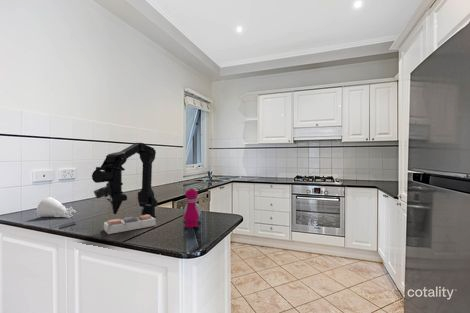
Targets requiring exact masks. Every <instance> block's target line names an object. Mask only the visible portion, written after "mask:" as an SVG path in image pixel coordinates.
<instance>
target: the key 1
mask: <svg viewBox="0 0 470 313" xmlns="http://www.w3.org/2000/svg"><path fill="white" fill-rule="evenodd" d="M121 220H122V219H120V218H114V219H113V218H112V219H108V220H107V222H108V225H109V226H111V225H118V224H121Z"/></svg>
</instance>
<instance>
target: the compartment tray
mask: <svg viewBox="0 0 470 313" xmlns="http://www.w3.org/2000/svg"><path fill="white" fill-rule="evenodd" d="M135 217H136V216H135ZM136 218H137V221H136V222H130V223H125V222H124V218H123V219H120V220H121V224H118V225H111V226H109V225H108V221H103V230H104V231H105V233H106V234H108V235H111V234H116V233H117V234H118V233H121V232H128V231H132V230H134V231H135V230H138V229H144V228H149V227H155V226H156V224H157V223H156V222H157V221H156V220H157V219H156V217H151V219H149V220H142V221H141V220H139V216H137V217H136Z"/></svg>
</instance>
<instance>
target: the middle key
mask: <svg viewBox="0 0 470 313" xmlns="http://www.w3.org/2000/svg"><path fill="white" fill-rule="evenodd" d="M123 219H124V222H125V223H130V222H136V221H137V218H136V216H127V217H123Z"/></svg>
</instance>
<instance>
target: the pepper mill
mask: <svg viewBox="0 0 470 313" xmlns="http://www.w3.org/2000/svg"><path fill="white" fill-rule="evenodd" d="M198 196H199V194H198V191H197V190H196V189H195V188H194V186H193V185H190V186H189V188H188V189H187V190H186V191H185V197H186V204H187V210H186V212H185V214H184V215H183V220H184V221H185V222H184V227H185V228H186V227H187V229H194V228H193V227H195V228H197V227H198V226H199V222H198V220H200V216H199V215H198V212H197V210H196V203H197V197H198Z"/></svg>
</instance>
